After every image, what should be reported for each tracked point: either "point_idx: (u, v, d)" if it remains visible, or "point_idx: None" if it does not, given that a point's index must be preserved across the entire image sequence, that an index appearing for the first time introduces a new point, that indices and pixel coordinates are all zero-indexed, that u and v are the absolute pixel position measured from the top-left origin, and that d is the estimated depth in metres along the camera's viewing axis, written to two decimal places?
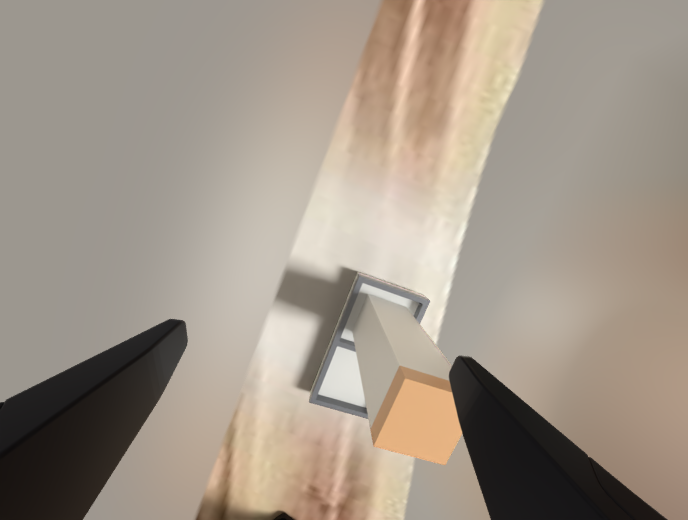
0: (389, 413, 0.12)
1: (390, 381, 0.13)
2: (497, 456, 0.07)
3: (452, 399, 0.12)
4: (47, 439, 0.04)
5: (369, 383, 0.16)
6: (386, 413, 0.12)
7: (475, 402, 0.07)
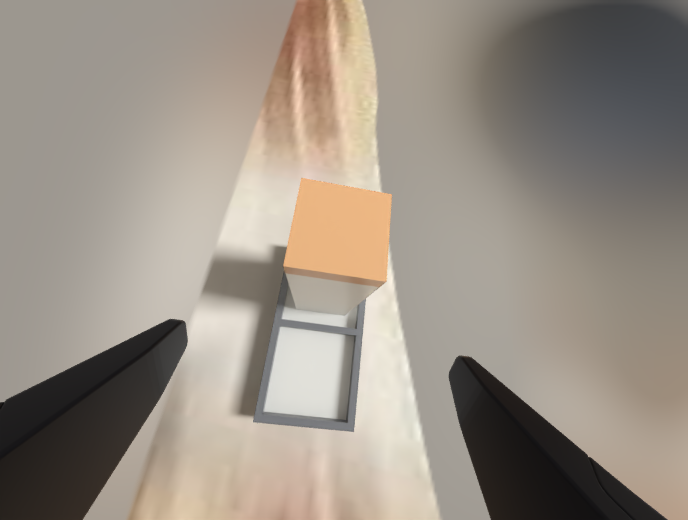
0: (293, 219, 0.10)
1: None
2: (497, 456, 0.07)
3: (361, 196, 0.11)
4: (47, 439, 0.04)
5: None
6: (292, 226, 0.10)
7: (475, 402, 0.07)
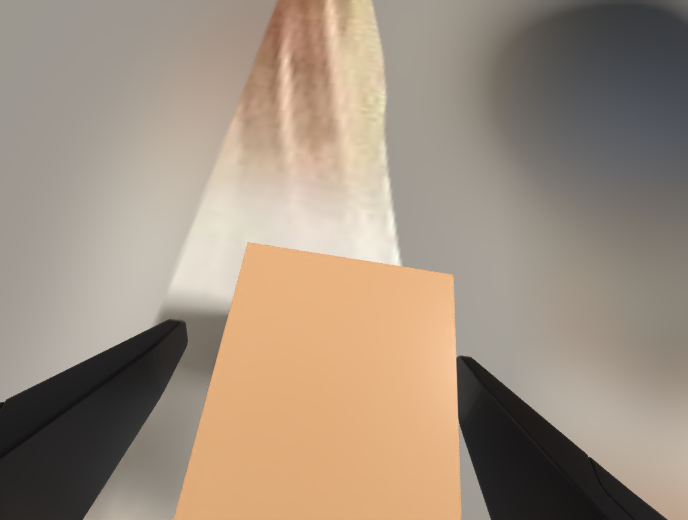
0: (218, 358, 0.04)
1: None
2: (497, 456, 0.07)
3: (387, 282, 0.05)
4: (47, 439, 0.04)
5: None
6: (217, 372, 0.04)
7: (475, 402, 0.07)
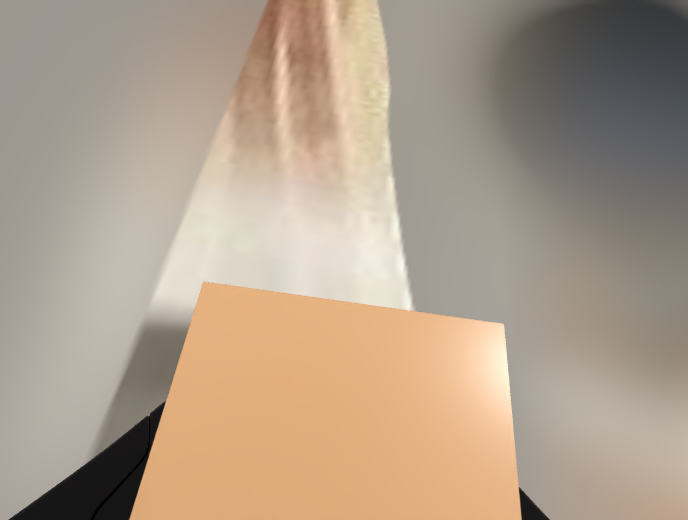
0: (143, 480, 0.02)
1: None
2: None
3: (410, 338, 0.03)
4: None
5: None
6: (145, 497, 0.03)
7: None
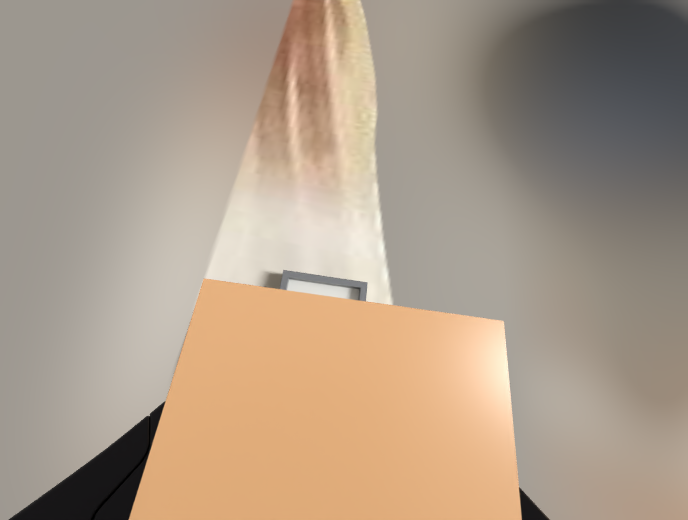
0: (144, 475, 0.02)
1: None
2: None
3: (410, 335, 0.03)
4: None
5: None
6: (147, 491, 0.03)
7: None
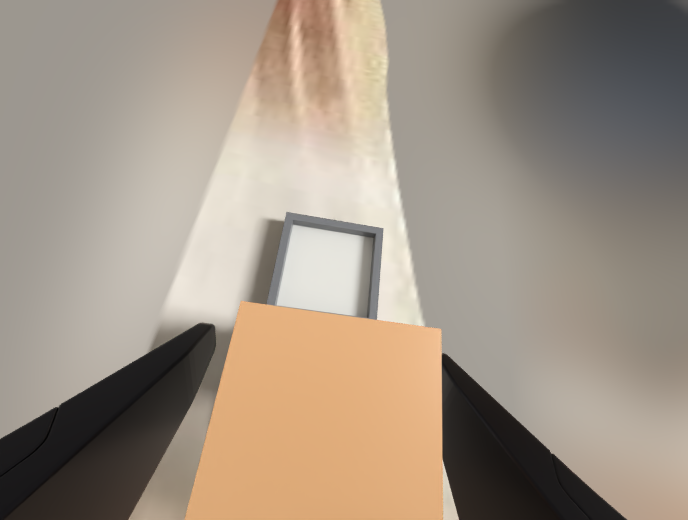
0: (210, 422, 0.04)
1: None
2: (465, 453, 0.07)
3: (376, 338, 0.05)
4: (100, 444, 0.05)
5: None
6: (210, 434, 0.04)
7: (446, 399, 0.07)
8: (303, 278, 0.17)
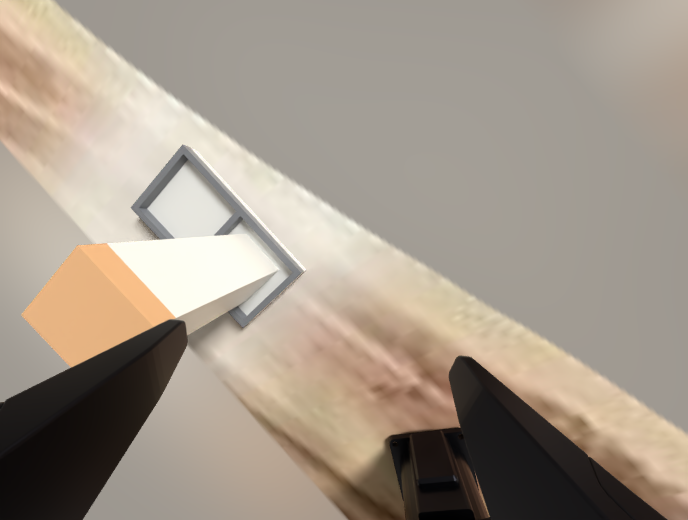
0: (57, 352, 0.10)
1: None
2: (497, 456, 0.07)
3: (64, 276, 0.09)
4: (47, 439, 0.04)
5: None
6: (68, 354, 0.10)
7: (475, 402, 0.07)
8: (188, 230, 0.21)
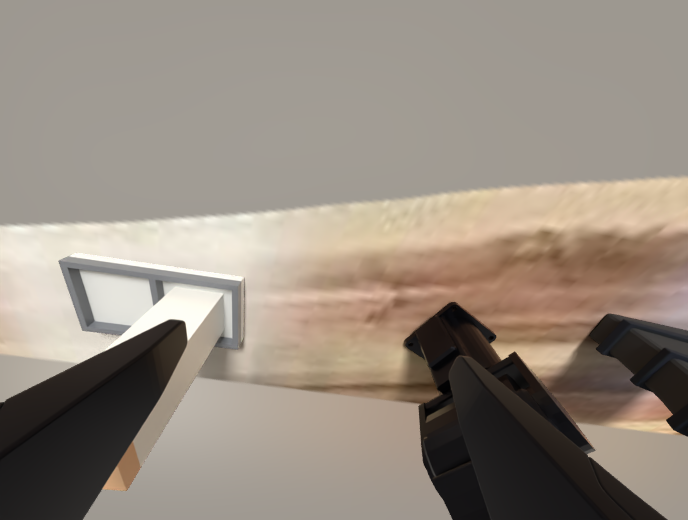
0: None
1: None
2: (497, 456, 0.07)
3: None
4: (47, 439, 0.04)
5: None
6: None
7: (475, 402, 0.07)
8: (137, 314, 0.23)
